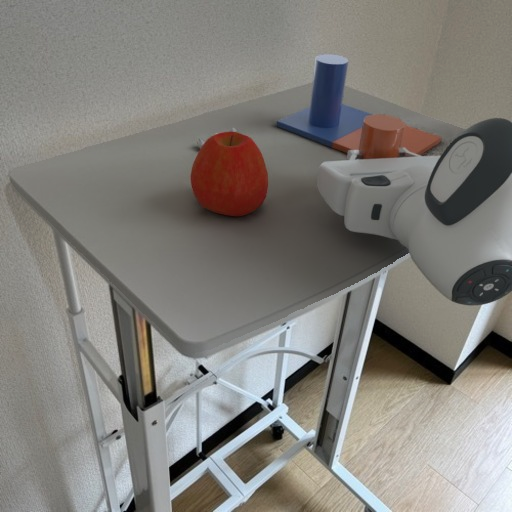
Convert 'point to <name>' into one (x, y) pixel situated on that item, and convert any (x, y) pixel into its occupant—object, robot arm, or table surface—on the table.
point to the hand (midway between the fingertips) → (374, 153)
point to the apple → (229, 175)
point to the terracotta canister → (381, 137)
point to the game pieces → (200, 142)
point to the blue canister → (327, 90)
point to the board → (352, 131)
